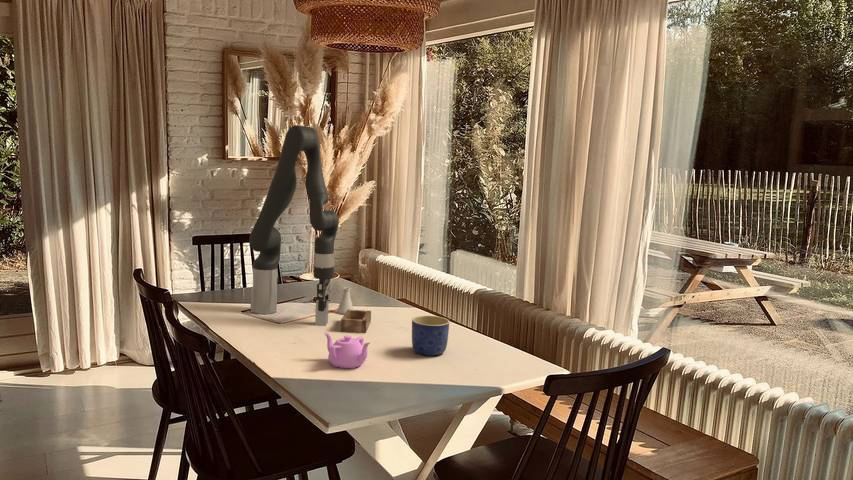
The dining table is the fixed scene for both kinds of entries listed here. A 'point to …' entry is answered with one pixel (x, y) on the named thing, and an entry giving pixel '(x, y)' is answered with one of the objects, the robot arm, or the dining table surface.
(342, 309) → the flask
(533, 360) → the dining table surface
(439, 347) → the planter
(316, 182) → the robot arm
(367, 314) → the rectangular wooden frame
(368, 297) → the dining table surface
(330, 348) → the teapot
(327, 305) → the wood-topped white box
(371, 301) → the dining table surface
